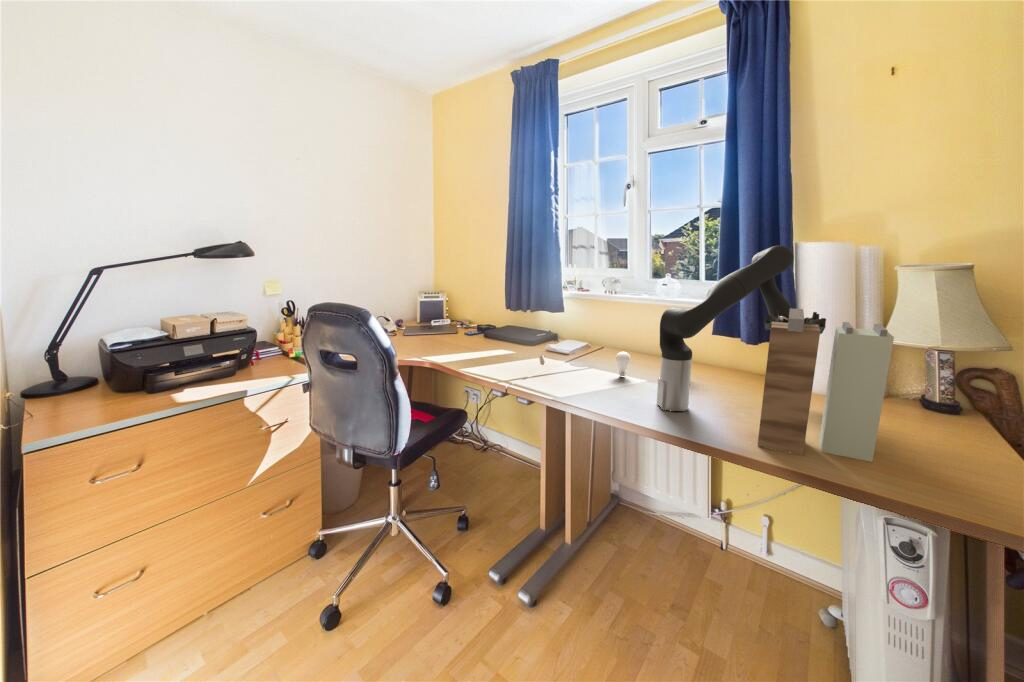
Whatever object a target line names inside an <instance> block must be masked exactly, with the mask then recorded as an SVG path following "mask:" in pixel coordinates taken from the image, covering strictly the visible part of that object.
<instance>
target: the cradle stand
mask: <svg viewBox="0 0 1024 682" xmlns="http://www.w3.org/2000/svg"><path fill="white" fill-rule="evenodd" d="M894 339H895V337H894V336H893V335H892V334H891V333H890V332H889V331H888V329H887V328H885V326H883V325H882V324H880V323H873V329H867V328H866V329H865V328H854V327H853V325H852V324H851V323H850V322H849V321H848V322H847V321H843V322H842V326H841V327H838V326H836V327H835V329H834V336H833V344H832V352H831V356H830V357H831V358H830V363H829V369H828V370H829V371H828V379H827V385H826V392H825V400H824V406H823V414H822V419H821V426H820V432H819V443H820V451H821V453H826V454H831V455H835V456H840V457H846V458H852V459H857V460H861V461H867V462H871V463H872V462H873V458H874V456H875V455H874V454H875V449H876V444H877V438H878V432H879V426H880V420H881V416H882V415H881V413H882V409H883V403H884V397H885V393H886V392H885V391H886V385H887V381H888V380H887V379H888V376H889V368H890V362H891V357H892V350H893V346H894Z"/></svg>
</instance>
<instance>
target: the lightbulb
mask: <svg viewBox="0 0 1024 682" xmlns="http://www.w3.org/2000/svg"><path fill="white" fill-rule="evenodd" d="M631 360H632V357H631V355H630V354H629V353H628V352H626V351H620V352H618V353H617V354H616V355H615V357H614V362H615V364H616V365H617V368H618V376H619V375H620V376H625V375H626V373H627V369H628V367H629V365H630V364H631V363H632V361H631ZM620 376H619V377H620ZM625 377H626V376H625Z"/></svg>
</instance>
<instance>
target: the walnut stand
mask: <svg viewBox="0 0 1024 682" xmlns="http://www.w3.org/2000/svg"><path fill="white" fill-rule="evenodd" d="M820 336H821V334H820V328H819V325H812V324H804V327H803V332H795V331H788V323H782V322H773V323H772V326H771V329H770V333H769V342H768V352H767V360H766V366H765V367H766V368H765V376H764V385H763V392H762V393H763V395H762V402H761V403H762V405H761V411H760V413H761V414H760V420H759V429H758V437H757V438H758V439H757V445H758V446H757V447H759V446H763V447H762V448H764V447H767V448H766V449H769V448H772V449H771V450H774V449H776V450H775V451H779V450H781V451H780V452H783V451H785V452H784V453H788V452H791V453H790V454H793V453H794V455H798V454H799V455H798V456H804V452H805V445H806V436H807V429H808V425H809V424H808V423H809V415H810V408H811V401H812V394H813V386H814V380H815V372H816V366H817V358H818V350H819V343H820V338H821V337H820Z"/></svg>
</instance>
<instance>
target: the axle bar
mask: <svg viewBox="0 0 1024 682" xmlns="http://www.w3.org/2000/svg"><path fill="white" fill-rule="evenodd" d="M804 315H805V314H804V308H793V307H792V308H790V311H789V320H788V331H795V332H803V327H804V318H805V316H804Z"/></svg>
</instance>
